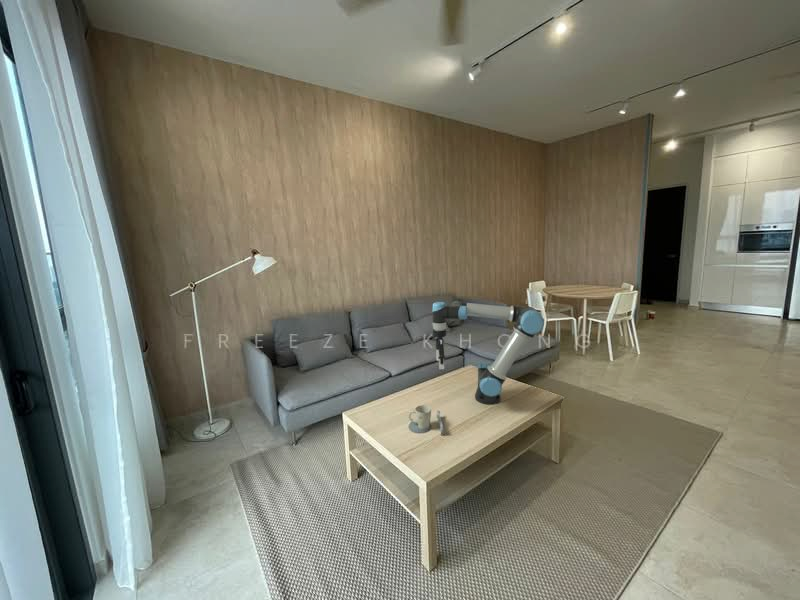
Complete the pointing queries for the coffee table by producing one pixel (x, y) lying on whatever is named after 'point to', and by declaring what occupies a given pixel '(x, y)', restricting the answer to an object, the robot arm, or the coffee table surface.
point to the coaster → (417, 428)
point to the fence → (440, 423)
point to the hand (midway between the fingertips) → (440, 364)
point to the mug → (422, 416)
